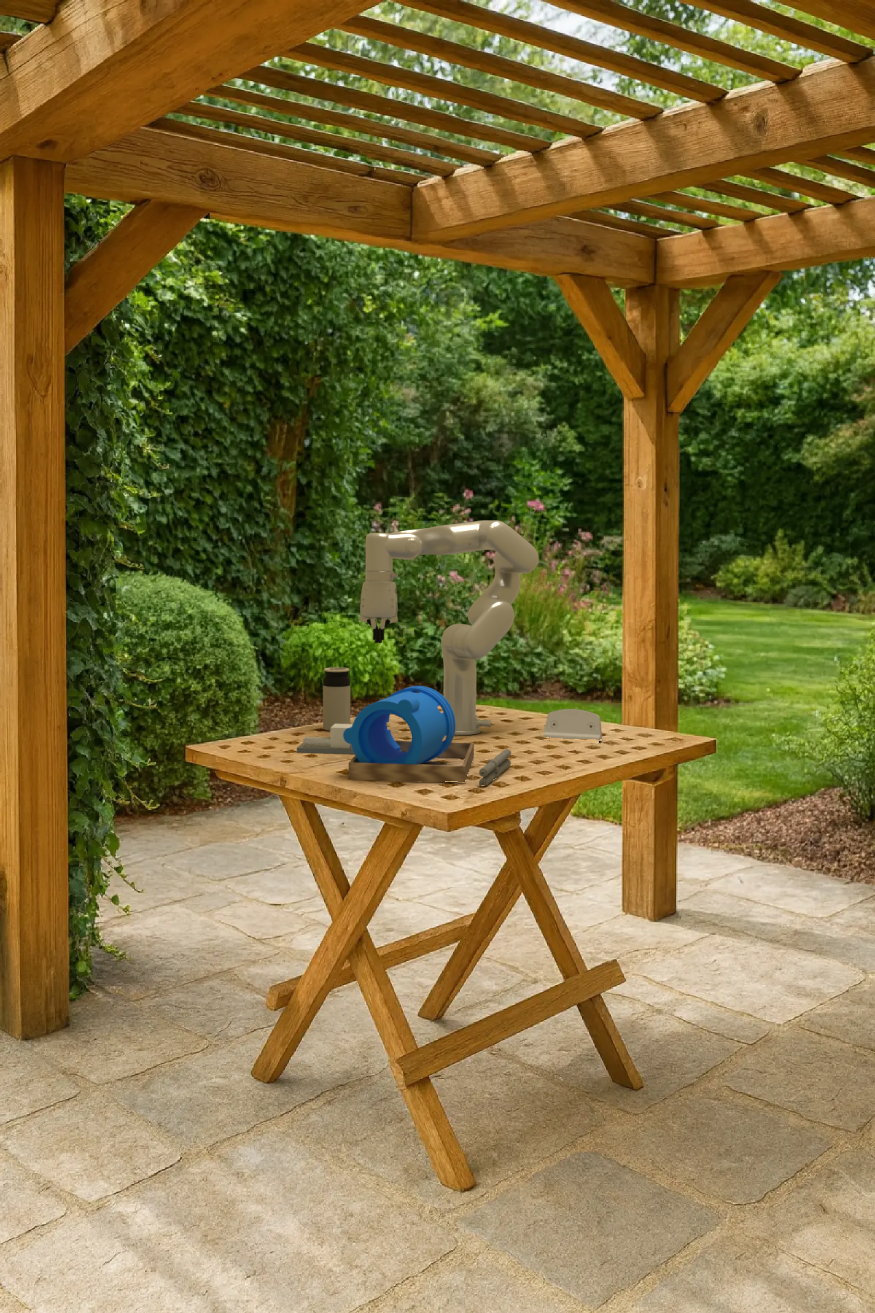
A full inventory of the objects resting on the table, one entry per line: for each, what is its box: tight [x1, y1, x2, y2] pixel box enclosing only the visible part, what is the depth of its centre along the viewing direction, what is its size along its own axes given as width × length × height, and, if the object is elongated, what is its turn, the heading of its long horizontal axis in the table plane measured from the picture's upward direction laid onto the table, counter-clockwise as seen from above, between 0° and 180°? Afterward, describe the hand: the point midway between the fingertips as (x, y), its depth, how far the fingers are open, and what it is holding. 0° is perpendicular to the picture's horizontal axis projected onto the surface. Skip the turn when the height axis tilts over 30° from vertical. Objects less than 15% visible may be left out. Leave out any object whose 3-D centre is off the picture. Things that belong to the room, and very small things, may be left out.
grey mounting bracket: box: [542, 708, 603, 740], centre depth 342 cm, size 17×5×10 cm, turn 75°
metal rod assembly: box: [478, 748, 512, 786], centre depth 291 cm, size 26×3×5 cm, turn 164°
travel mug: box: [322, 666, 351, 732], centre depth 354 cm, size 8×8×18 cm
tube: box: [343, 685, 456, 765], centre depth 298 cm, size 25×22×19 cm
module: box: [330, 723, 353, 748], centre depth 322 cm, size 5×6×5 cm
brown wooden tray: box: [348, 739, 475, 783], centre depth 300 cm, size 28×32×4 cm
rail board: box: [296, 735, 355, 755], centre depth 323 cm, size 22×10×3 cm, turn 85°
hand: (378, 642), depth 339 cm, fingers closed
